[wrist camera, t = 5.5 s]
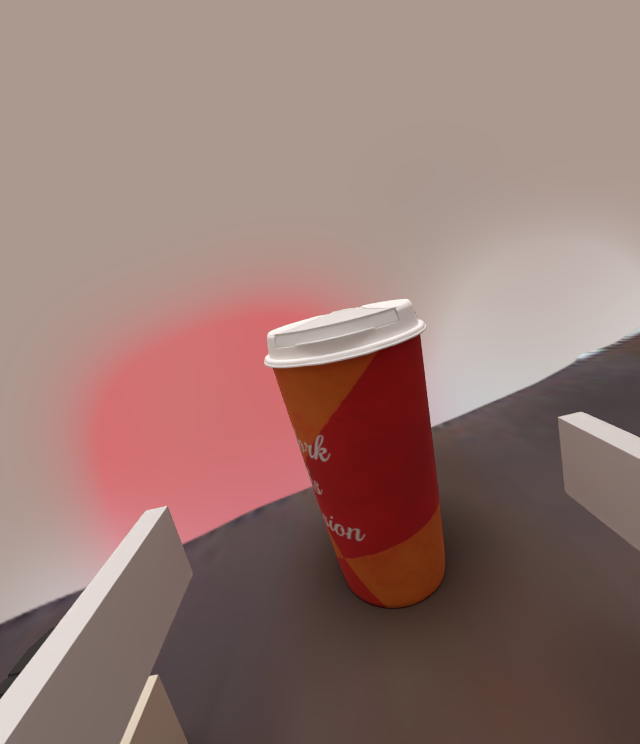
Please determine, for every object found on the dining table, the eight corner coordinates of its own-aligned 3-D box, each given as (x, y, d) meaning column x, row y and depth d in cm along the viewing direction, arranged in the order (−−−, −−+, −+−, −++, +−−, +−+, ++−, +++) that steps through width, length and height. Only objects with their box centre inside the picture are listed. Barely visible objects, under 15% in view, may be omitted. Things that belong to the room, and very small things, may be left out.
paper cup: (332, 525, 24) (279, 323, 21) (449, 511, 23) (410, 293, 20) (316, 638, 16) (229, 348, 13) (490, 627, 15) (437, 301, 12)
